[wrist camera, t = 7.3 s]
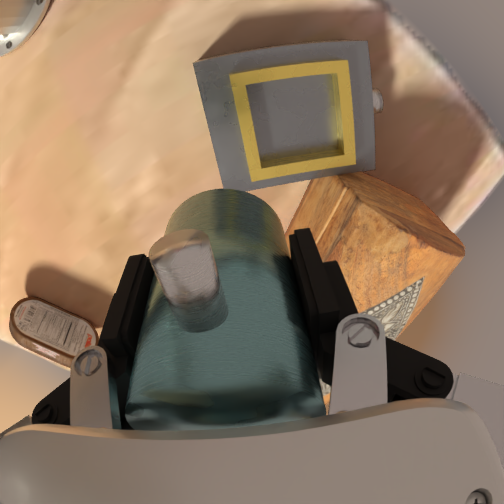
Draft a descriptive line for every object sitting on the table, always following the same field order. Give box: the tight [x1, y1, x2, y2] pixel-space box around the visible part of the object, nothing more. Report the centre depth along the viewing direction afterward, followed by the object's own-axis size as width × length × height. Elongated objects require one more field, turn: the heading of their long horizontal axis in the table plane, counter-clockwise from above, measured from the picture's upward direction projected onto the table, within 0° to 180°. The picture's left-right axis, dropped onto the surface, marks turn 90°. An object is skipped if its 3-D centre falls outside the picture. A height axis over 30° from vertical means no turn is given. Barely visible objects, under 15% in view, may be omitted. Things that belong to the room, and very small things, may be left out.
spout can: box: [125, 189, 326, 431], centre depth 10 cm, size 7×5×8 cm
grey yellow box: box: [193, 40, 383, 192], centre depth 26 cm, size 12×16×6 cm
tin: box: [9, 297, 99, 368], centre depth 39 cm, size 15×3×8 cm, turn 57°
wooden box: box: [285, 172, 465, 405], centre depth 36 cm, size 30×16×14 cm, turn 158°
